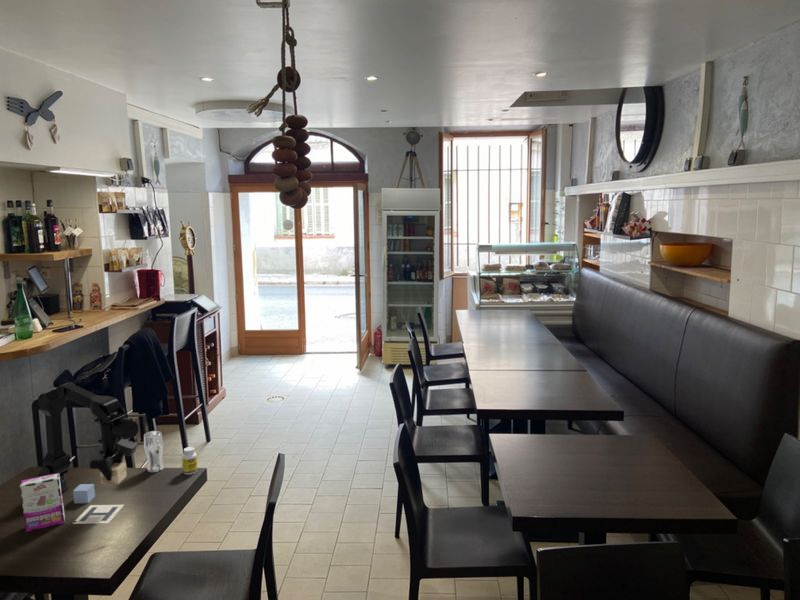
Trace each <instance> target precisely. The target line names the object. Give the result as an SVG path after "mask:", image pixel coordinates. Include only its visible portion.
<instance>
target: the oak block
mask: <svg viewBox="0 0 800 600" xmlns="http://www.w3.org/2000/svg"><path fill="white" fill-rule="evenodd" d="M126 466H127V465H126V462H122V463H115V464H114V465H113V466H112V476H111V481H108V480H107V479H106V478H105V476H104V475H103V474H102V473H101V471H100V470H99V473H100V474H99V475H100V483H101V485H119V484H120V483H122V481H123V480H125V478H126V477H127V476H128V475H127V467H126Z"/></svg>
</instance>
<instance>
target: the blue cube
mask: <svg viewBox="0 0 800 600" xmlns="http://www.w3.org/2000/svg"><path fill="white" fill-rule="evenodd" d="M72 495H73V503H74V504H89V503H90V502H91V501H92V500H93V499H94V498H95V497H96V491H95V484H94V483H81V484H79V485H78V486H77V487H75V488H74V489H73V490H72Z"/></svg>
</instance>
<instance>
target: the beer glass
mask: <svg viewBox="0 0 800 600" xmlns="http://www.w3.org/2000/svg"><path fill="white" fill-rule="evenodd" d="M162 433H163V432H161V431H160V430H151V431H148V432H145V433H144V434H143V447H144V448H143V449H144V452H145V456H146V460H147V470H148V471H147V472H148V473H158V472H160V471H159V470H161V471H163V470H164V464H163V451H164V450H163V449H164V442H163V435H162Z"/></svg>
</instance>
